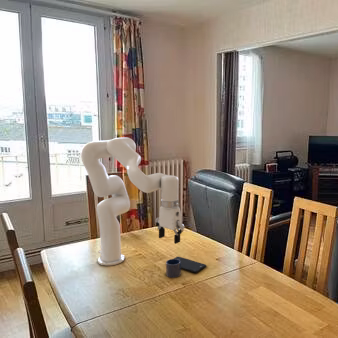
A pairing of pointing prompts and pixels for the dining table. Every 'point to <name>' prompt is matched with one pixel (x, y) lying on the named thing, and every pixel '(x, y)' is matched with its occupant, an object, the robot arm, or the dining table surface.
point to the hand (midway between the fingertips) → (169, 239)
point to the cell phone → (190, 265)
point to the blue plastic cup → (173, 268)
